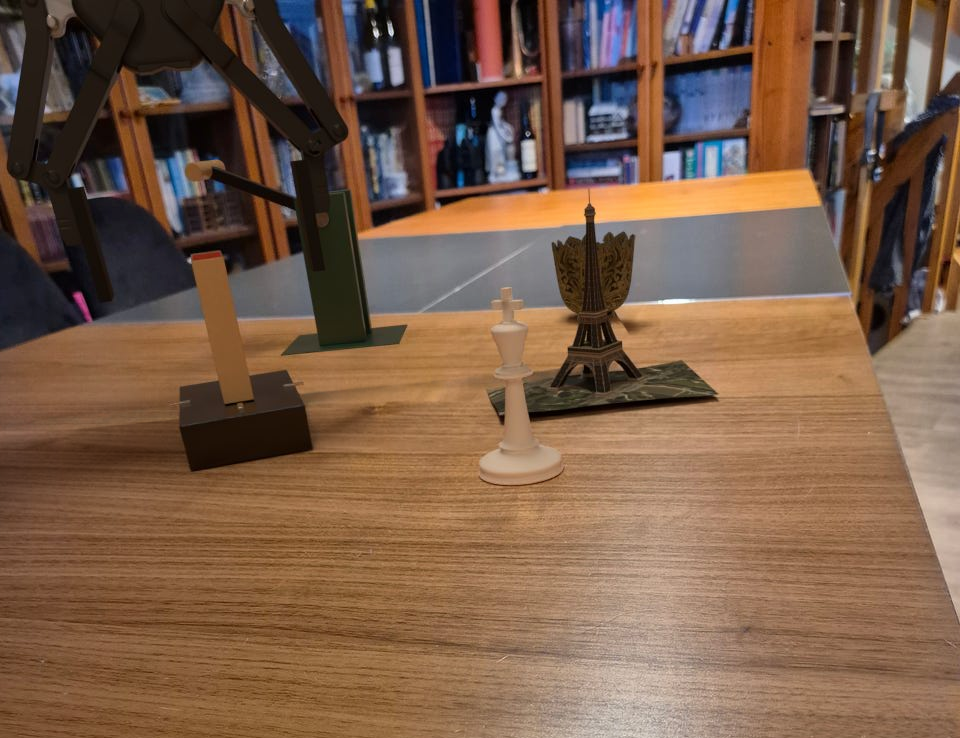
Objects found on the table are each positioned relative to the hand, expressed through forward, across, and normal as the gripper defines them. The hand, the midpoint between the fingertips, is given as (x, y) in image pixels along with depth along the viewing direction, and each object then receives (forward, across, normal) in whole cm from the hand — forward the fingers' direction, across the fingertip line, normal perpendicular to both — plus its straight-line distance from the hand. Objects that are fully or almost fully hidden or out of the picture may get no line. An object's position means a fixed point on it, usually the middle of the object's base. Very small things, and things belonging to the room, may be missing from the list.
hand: (214, 284), depth 61 cm
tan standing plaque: (+7, 0, 0) cm, 7 cm away
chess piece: (+11, +14, -18) cm, 25 cm away
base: (+10, 0, 0) cm, 10 cm away
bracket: (+10, +11, +25) cm, 29 cm away
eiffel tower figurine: (+11, +24, -5) cm, 27 cm away
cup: (+10, +33, +17) cm, 39 cm away
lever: (-3, +6, +27) cm, 27 cm away
